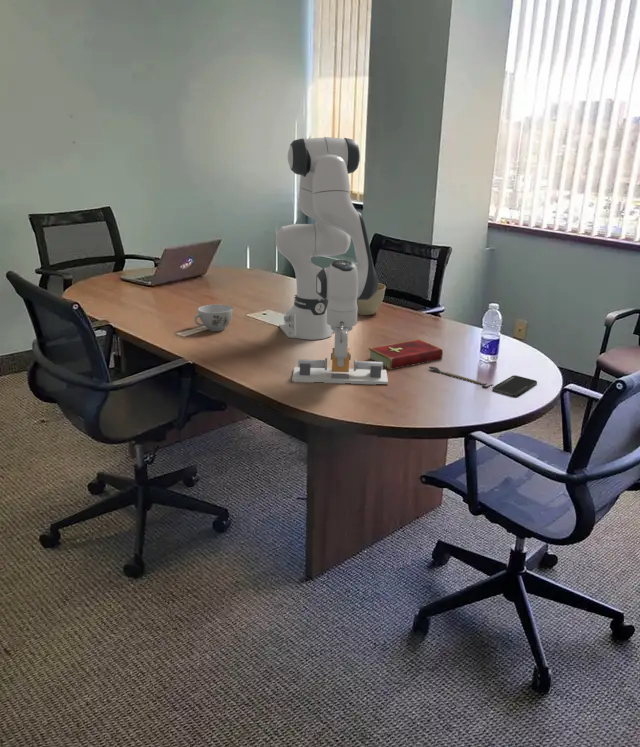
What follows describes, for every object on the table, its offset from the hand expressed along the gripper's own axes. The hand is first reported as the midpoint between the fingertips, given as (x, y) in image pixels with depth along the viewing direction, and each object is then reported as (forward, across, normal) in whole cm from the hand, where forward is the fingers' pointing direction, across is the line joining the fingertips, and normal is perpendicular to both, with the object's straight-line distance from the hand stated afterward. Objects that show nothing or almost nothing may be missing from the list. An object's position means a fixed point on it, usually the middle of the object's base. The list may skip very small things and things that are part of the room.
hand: (340, 362), depth 197 cm
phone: (+5, -4, -51) cm, 52 cm away
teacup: (+5, +45, +47) cm, 65 cm away
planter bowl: (+5, +74, -9) cm, 75 cm away
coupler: (+2, 0, 0) cm, 2 cm away
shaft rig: (+5, 0, 0) cm, 5 cm away
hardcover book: (+5, +19, -21) cm, 29 cm away
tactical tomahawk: (+5, +4, -37) cm, 37 cm away
